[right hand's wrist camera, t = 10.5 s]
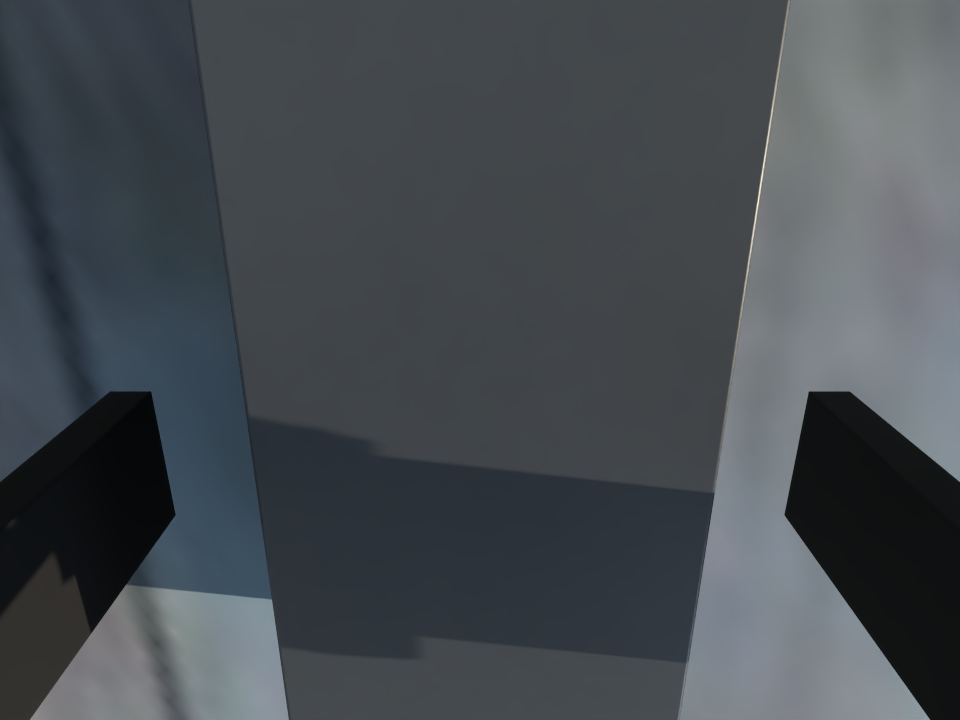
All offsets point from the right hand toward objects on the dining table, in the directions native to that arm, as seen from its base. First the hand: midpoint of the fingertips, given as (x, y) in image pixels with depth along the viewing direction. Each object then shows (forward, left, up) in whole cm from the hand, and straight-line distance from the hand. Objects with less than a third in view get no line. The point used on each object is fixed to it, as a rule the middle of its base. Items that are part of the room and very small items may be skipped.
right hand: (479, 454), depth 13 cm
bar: (+9, +16, -4) cm, 19 cm away
